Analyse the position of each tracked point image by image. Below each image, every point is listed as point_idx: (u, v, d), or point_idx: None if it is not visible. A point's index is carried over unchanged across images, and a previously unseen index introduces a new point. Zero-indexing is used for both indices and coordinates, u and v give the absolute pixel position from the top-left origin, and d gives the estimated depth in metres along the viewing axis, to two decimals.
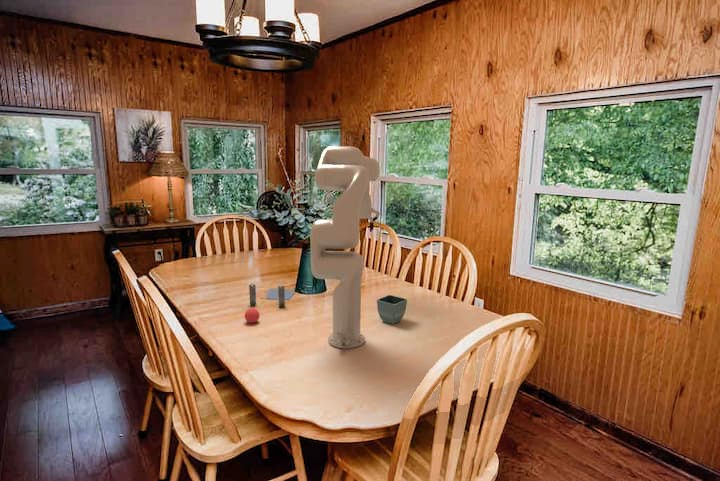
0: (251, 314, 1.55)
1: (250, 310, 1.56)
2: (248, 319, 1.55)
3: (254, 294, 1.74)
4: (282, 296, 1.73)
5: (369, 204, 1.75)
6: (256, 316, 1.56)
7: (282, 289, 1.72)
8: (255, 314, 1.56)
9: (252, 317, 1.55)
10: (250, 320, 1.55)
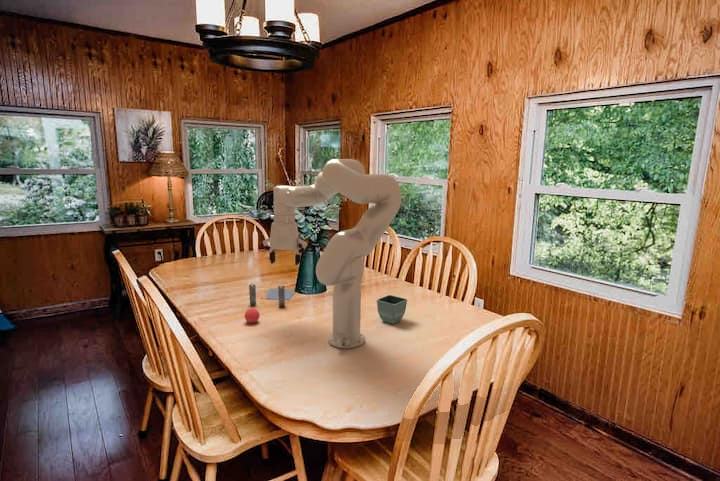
0: (251, 314, 1.55)
1: (250, 310, 1.56)
2: (248, 319, 1.55)
3: (254, 294, 1.74)
4: (282, 296, 1.73)
5: (293, 234, 1.51)
6: (256, 316, 1.56)
7: (282, 289, 1.72)
8: (255, 314, 1.56)
9: (252, 317, 1.55)
10: (250, 320, 1.55)
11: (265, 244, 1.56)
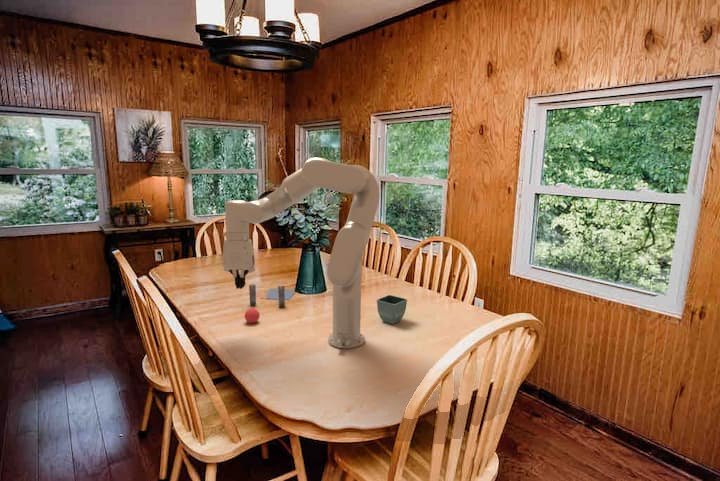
0: (251, 314, 1.55)
1: (250, 310, 1.56)
2: (248, 319, 1.55)
3: (254, 294, 1.74)
4: (282, 296, 1.73)
5: (247, 252, 1.40)
6: (256, 316, 1.56)
7: (282, 289, 1.72)
8: (255, 314, 1.56)
9: (252, 317, 1.55)
10: (250, 320, 1.55)
11: (228, 269, 1.43)
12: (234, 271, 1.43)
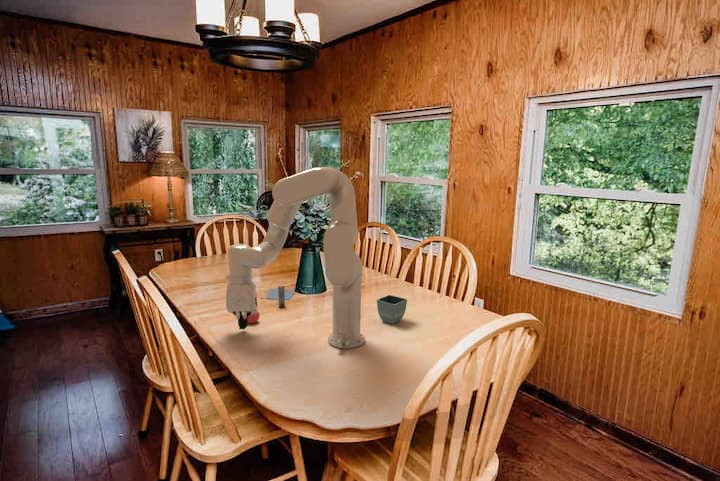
0: (251, 314, 1.55)
1: None
2: (248, 319, 1.55)
3: None
4: (282, 296, 1.73)
5: (250, 295, 1.43)
6: (256, 316, 1.56)
7: (282, 289, 1.72)
8: (255, 314, 1.56)
9: (252, 317, 1.55)
10: (250, 320, 1.55)
11: (231, 311, 1.47)
12: (237, 313, 1.46)
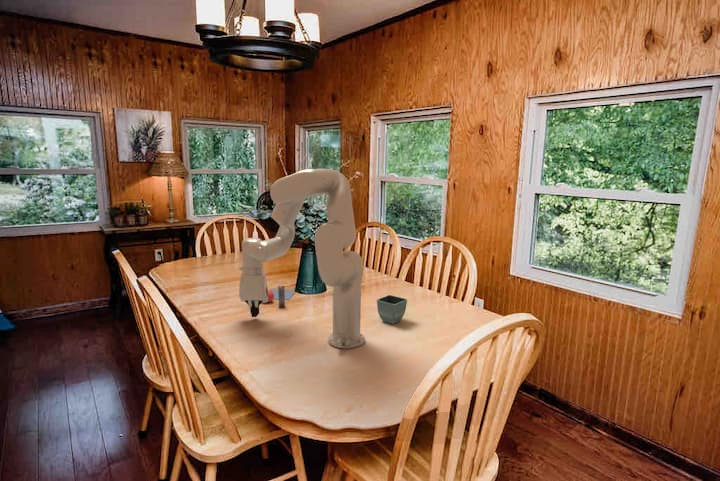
0: None
1: None
2: None
3: None
4: (282, 296, 1.73)
5: (262, 285, 1.55)
6: (272, 292, 1.80)
7: (282, 289, 1.72)
8: None
9: (270, 290, 1.81)
10: None
11: (244, 300, 1.59)
12: (250, 301, 1.58)
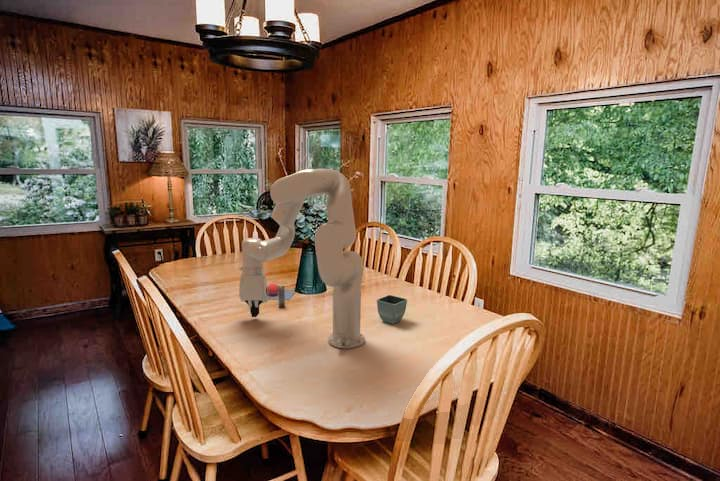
0: (272, 293, 1.87)
1: (271, 290, 1.87)
2: None
3: None
4: (282, 296, 1.73)
5: (262, 285, 1.55)
6: (277, 292, 1.88)
7: (282, 289, 1.72)
8: (276, 292, 1.88)
9: (274, 294, 1.88)
10: None
11: (244, 300, 1.59)
12: (250, 301, 1.58)
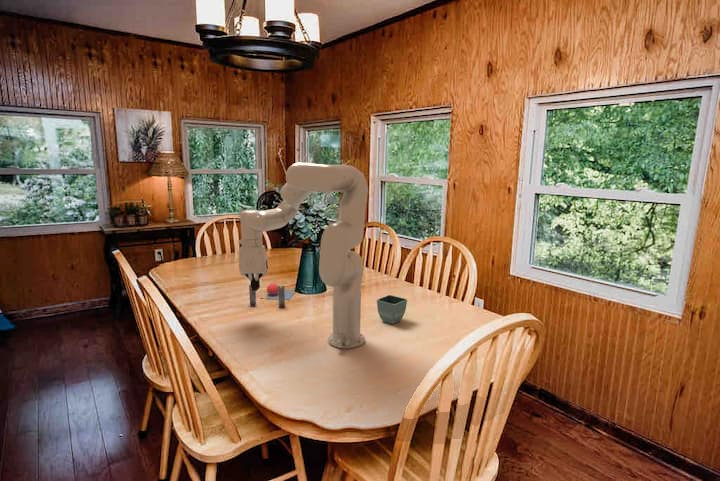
0: (272, 293, 1.87)
1: (271, 290, 1.87)
2: None
3: (254, 294, 1.74)
4: (282, 296, 1.73)
5: (262, 257, 1.53)
6: (277, 292, 1.88)
7: (282, 289, 1.72)
8: (276, 292, 1.88)
9: (274, 294, 1.88)
10: None
11: (244, 273, 1.57)
12: (250, 275, 1.56)
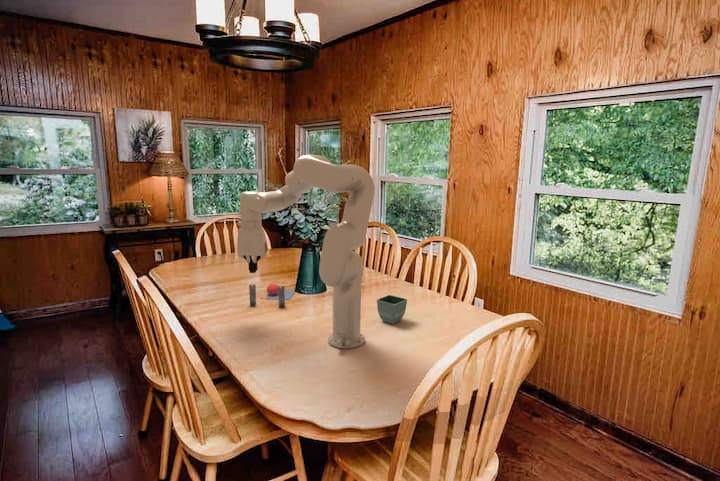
0: (272, 293, 1.87)
1: (271, 290, 1.87)
2: None
3: (254, 294, 1.74)
4: (282, 296, 1.73)
5: (260, 239, 1.52)
6: (277, 292, 1.88)
7: (282, 289, 1.72)
8: (276, 292, 1.88)
9: (274, 294, 1.88)
10: None
11: (242, 255, 1.56)
12: (248, 257, 1.55)
